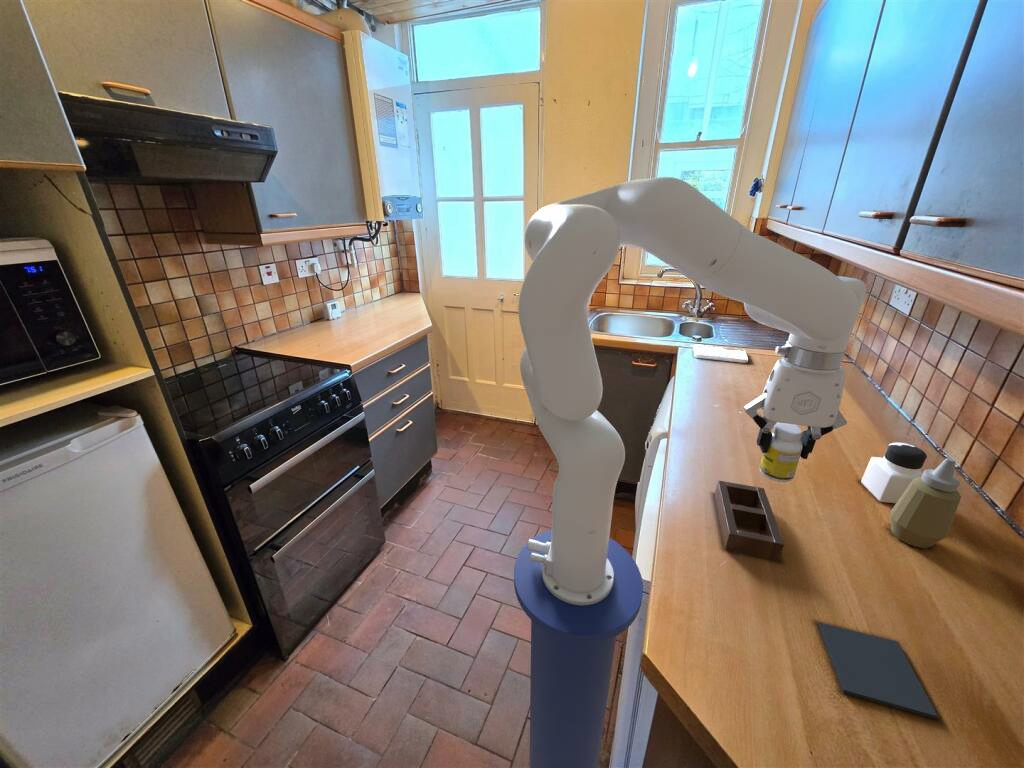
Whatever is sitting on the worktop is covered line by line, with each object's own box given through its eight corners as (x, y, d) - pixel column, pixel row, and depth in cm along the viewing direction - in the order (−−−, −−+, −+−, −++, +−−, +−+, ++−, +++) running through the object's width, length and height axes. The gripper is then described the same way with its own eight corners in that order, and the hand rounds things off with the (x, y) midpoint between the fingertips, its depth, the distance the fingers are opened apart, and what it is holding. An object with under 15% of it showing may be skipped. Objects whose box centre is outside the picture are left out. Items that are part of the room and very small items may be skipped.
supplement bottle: (755, 463, 77) (767, 418, 73) (788, 467, 76) (801, 421, 71) (762, 480, 72) (775, 434, 68) (797, 485, 71) (812, 438, 67)
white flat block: (693, 347, 179) (694, 343, 178) (743, 352, 172) (744, 348, 172) (693, 357, 168) (694, 353, 167) (748, 363, 161) (749, 359, 160)
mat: (842, 692, 54) (844, 690, 54) (817, 624, 63) (818, 621, 62) (936, 719, 51) (938, 716, 51) (896, 644, 60) (898, 641, 59)
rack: (724, 549, 76) (729, 533, 74) (714, 494, 90) (718, 480, 88) (778, 561, 73) (784, 544, 72) (759, 502, 88) (763, 488, 86)
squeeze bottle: (924, 559, 74) (969, 478, 66) (873, 528, 80) (909, 452, 73) (949, 545, 76) (995, 467, 69) (898, 517, 83) (935, 443, 76)
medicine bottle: (917, 506, 86) (941, 459, 81) (879, 502, 87) (900, 456, 82) (895, 485, 92) (916, 440, 87) (859, 481, 94) (878, 437, 89)
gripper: (757, 358, 64) (732, 455, 71) (889, 370, 59) (847, 472, 66) (747, 344, 70) (725, 434, 78) (865, 354, 65) (829, 448, 73)
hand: (782, 451), depth 72 cm, fingers closed on supplement bottle, 5 cm apart
